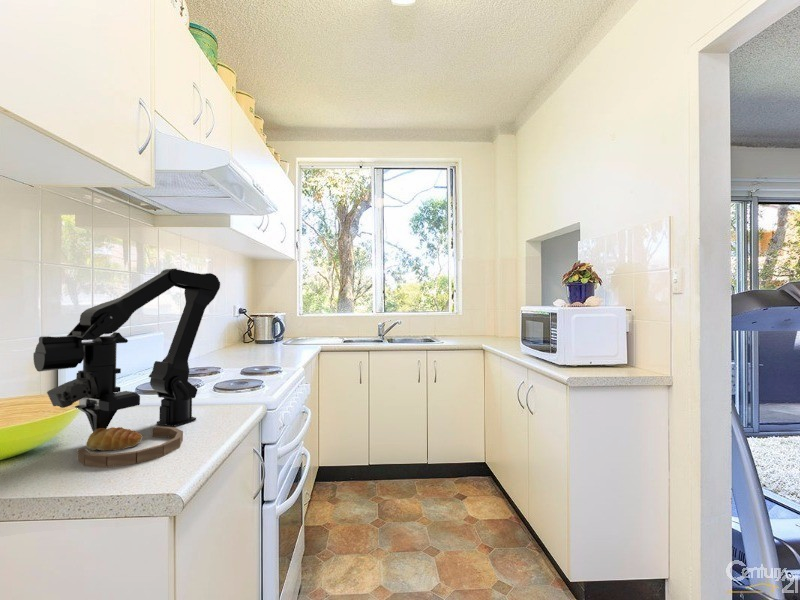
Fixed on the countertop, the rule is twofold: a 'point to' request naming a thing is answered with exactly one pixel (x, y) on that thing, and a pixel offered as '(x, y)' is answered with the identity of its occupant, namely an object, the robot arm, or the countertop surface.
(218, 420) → the countertop surface
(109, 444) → the pastry
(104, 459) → the walnut open arc
